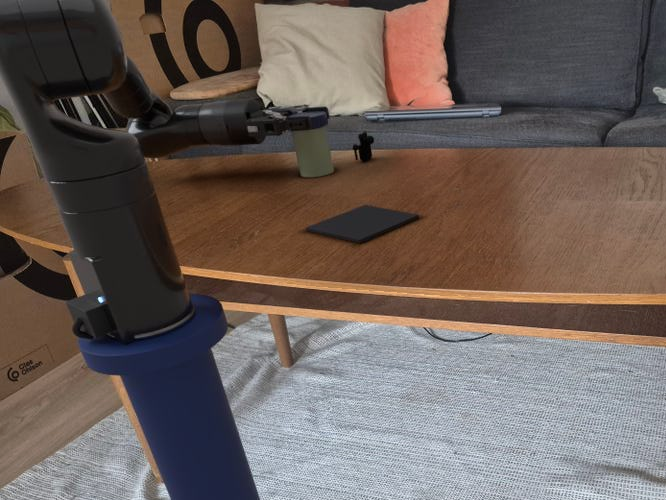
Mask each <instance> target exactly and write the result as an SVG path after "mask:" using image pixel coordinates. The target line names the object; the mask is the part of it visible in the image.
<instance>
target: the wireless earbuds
mask: <svg viewBox="0 0 666 500" xmlns="http://www.w3.org/2000/svg"><path fill="white" fill-rule="evenodd" d="M357 139H358V140H359V144H356V143H355V144H354V143H353V145H352V150H353V153H354V158H355V160H356V161H359V159H360V161H361V162H363V163H365V162H366V161H369V160H371V159H372V157H373V152H372V151H373V150H372V144H374V142H375V137H374V136H372V135H368V133H367V132H366V131H363V132H362V133H359V134H358V135H357ZM358 155H359V156H358Z"/></svg>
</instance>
